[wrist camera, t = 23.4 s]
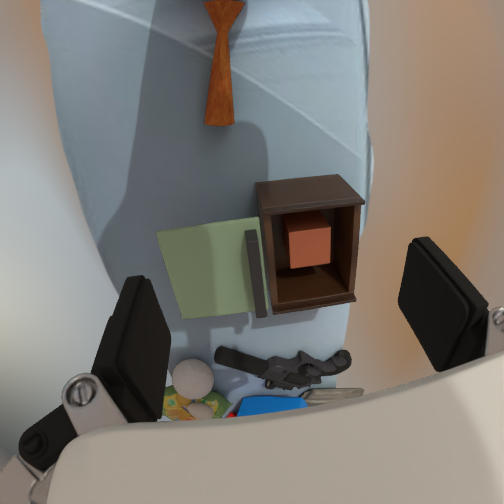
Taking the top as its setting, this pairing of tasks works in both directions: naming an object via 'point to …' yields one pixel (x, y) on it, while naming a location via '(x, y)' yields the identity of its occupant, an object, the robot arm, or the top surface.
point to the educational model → (182, 414)
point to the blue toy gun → (268, 405)
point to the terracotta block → (306, 238)
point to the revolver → (285, 367)
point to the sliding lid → (216, 268)
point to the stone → (330, 395)
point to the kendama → (221, 64)
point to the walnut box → (341, 250)
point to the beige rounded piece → (193, 386)
